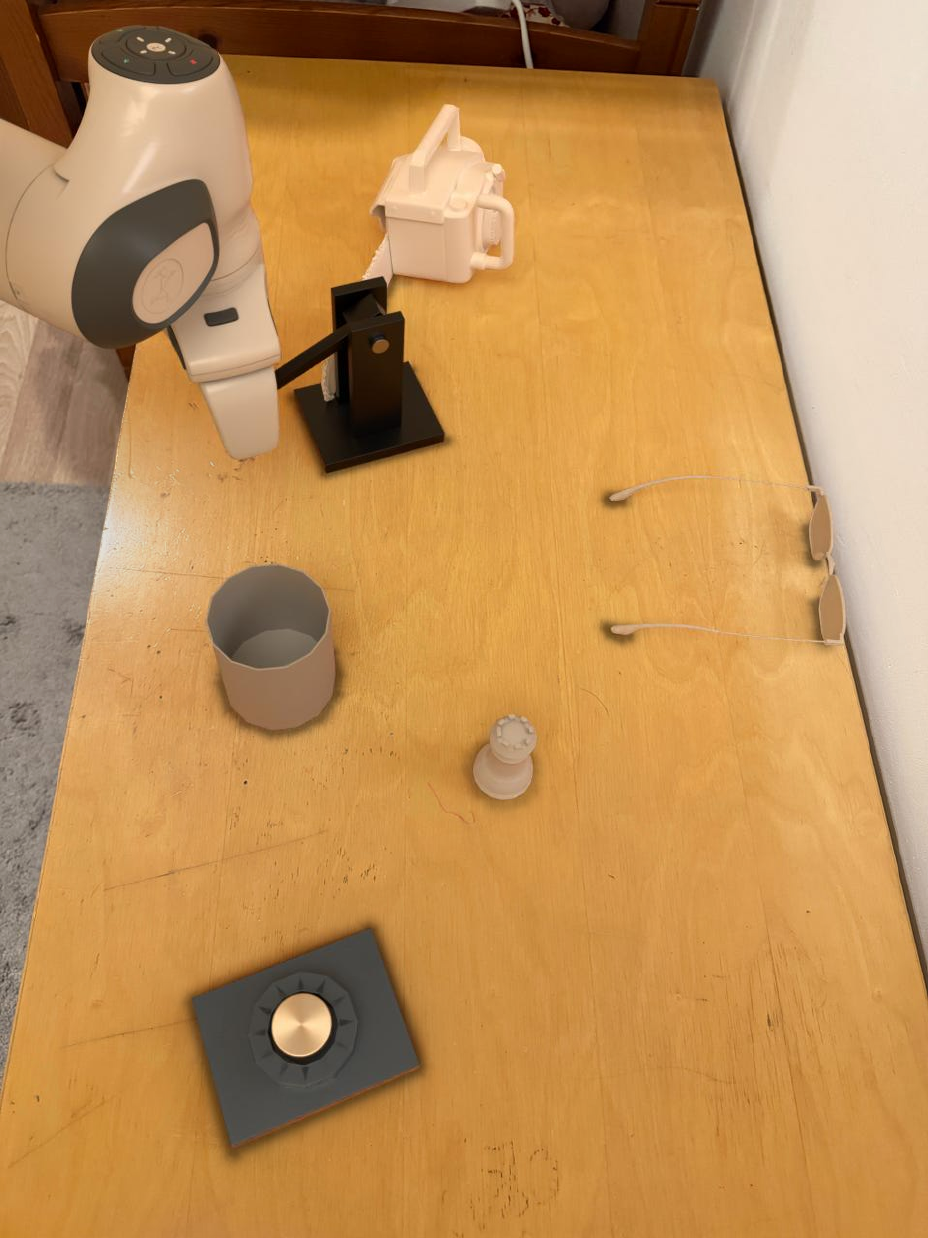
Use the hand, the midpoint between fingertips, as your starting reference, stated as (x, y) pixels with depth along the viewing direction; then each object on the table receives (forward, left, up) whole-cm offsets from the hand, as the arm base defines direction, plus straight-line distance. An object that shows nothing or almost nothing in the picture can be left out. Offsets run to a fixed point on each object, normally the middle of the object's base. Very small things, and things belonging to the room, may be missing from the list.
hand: (227, 404), depth 82 cm
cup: (-3, -22, -7) cm, 23 cm away
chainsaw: (+23, +13, -6) cm, 27 cm away
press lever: (+7, 0, +1) cm, 7 cm away
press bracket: (+12, 0, -7) cm, 14 cm away
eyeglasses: (+34, -25, -7) cm, 43 cm away
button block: (-9, -47, -7) cm, 48 cm away
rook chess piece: (+10, -35, -7) cm, 37 cm away
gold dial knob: (-9, -47, -3) cm, 48 cm away
